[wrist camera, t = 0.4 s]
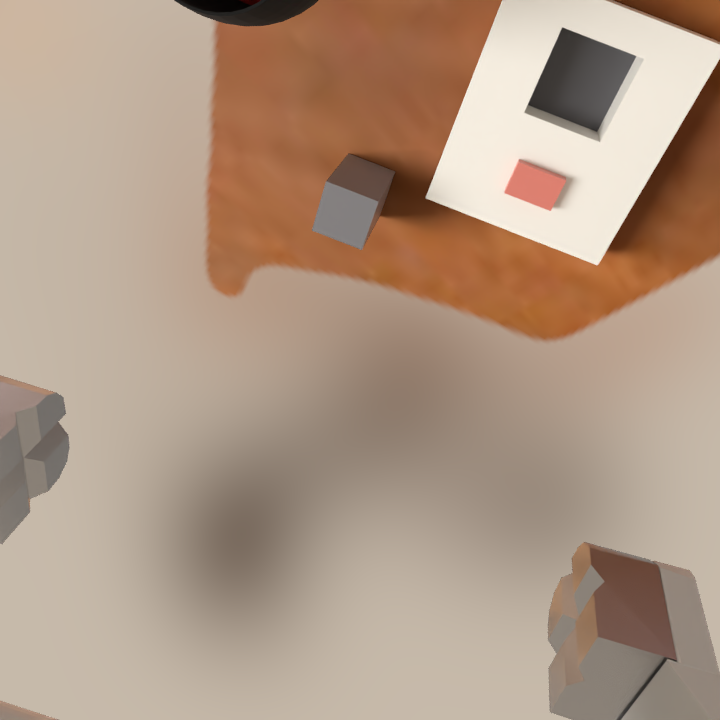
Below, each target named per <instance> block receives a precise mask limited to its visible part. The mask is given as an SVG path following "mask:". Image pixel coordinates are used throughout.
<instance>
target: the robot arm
mask: <svg viewBox="0 0 720 720" xmlns="http://www.w3.org/2000/svg"><path fill="white" fill-rule="evenodd" d="M65 414H66V411H65V404H64V398H63V397H62V396H61V395H59V394H58V393H55V392H53V391H49V390H46V389H43V388H39V387H36V386H33V385H30V384H27V383H24V382H20V381H17V380H14V379H11V378H8V377H4V376H1V375H0V544H3V542H4V541H5V540H6V539H7V538H8V537H9V535H10V534H11V533H12V532H13V531H14V530H15V529H16V528H17V526H18V525H19V524H20V523H21V522H22V521H23V519H24V518H25V517H26V516H27V515H28V514H29V513H30V499H31V498H33V497H36V496H38V495H40V494H42V493H45V492H48V491H49V490H50V488H51V487H52V486H53V485H54V483H55V482H56V481H57V480H58V479H59V477H60V475H61V473H62V471H63V468H64V466H65V464H66V462H67V458H68V452H69V437H68V434H67V433H66V432H65V430H64V429H63V428H62V426H61V425H60V424H59V422H58V421H59V420H60V419H61V418H62V417H63V416H64V415H65ZM548 641H549V642H550V644H551V646H552V647H553V649H554V650H555V652H556V653H557V654H556V656H555V658H554V660H553V661H552V663H551V665H550V666H549V700H550V712H551V713H554V714H557V715H560V716H563V717H566V718H569V719H572V720H720V672H719V668H718V665H717V661H716V657H715V653H714V649H713V646H712V642H711V638H710V634H709V630H708V626H707V623H706V619H705V615H704V611H703V607H702V603H701V599H700V595H699V592H698V588H697V584H696V580H695V577H694V576H693V574H692V573H691V572H690V570H686V569H682V568H679V567H675V566H671V565H668V564H664V563H660V562H657V561H651V560H649V559H645V558H641V557H638V556H634V555H630V554H627V553H623V552H620V551H616V550H612V549H609V548H605V547H601V546H597V545H594V544H590V543H587V542H583V543H582V544H581V545H580V546H579V547H578V548H577V550H576V552H575V553H574V555H573V557H572V573H571V574H569V575H566V576H564V577H562V578H561V579H560V581H559V583H558V586H557V588H556V590H555V592H554V595H553V598H552V602H551V606H550V610H549V619H548ZM0 720H58V719H55V718H52V717H49V716H46V715H42V714H39V713H36V712H33V711H30V710H27V709H24V708H21V707H18V706H15V705H12V704H9V703H6V702H3V701H0Z"/></svg>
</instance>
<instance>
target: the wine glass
mask: <svg viewBox="0 0 720 720" xmlns="http://www.w3.org/2000/svg"><path fill="white" fill-rule="evenodd" d="M175 1H176V2H178V3H179V4H181V5H182V6H184V7H186V8H188V9H190V10H192V11H194V12H196V13H198V14H200V15H202V16H205V17H207V18H210V19H213V20H216V21H219V22H222V23H226V24H233V25H240V26H264V25H270V24H274V23H278V22H283V21H285V20H287V19H289V18H291V17H294V16H296V15H298V14H300V13H302V12H304V11H305V10H307V9H308V8H310V7H311V6H313V5H314V4H315V3H316V2H317V1H318V0H175Z"/></svg>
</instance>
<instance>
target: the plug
mask: <svg viewBox="0 0 720 720" xmlns="http://www.w3.org/2000/svg"><path fill="white" fill-rule="evenodd" d="M394 174H395V171H392V170H390V169H387V168H385V167H382V166H380V165H377V164H375V163H372V162H369V161H367V160H364V159H362V158H359V157H357V156H354V155H351V154H348V155H347V156H346V157H345V159H344V160H343V161H342V162H341V164H340V165H339V166H338V167H337V169H336V170H335V171H334V172H333V173H332V175H331V176H330V177H329V178H328V180H327V181H326V184H325V187H324V191H323V194H322V197H321V201H320V204H319V208H318V211H317V215H316V218H315V222H314V225H313V229H312V231H315V232H317V233H320V234H322V235H325V236H328V237H330V238H333V239H335V240H338V241H340V242H343V243H346V244H348V245H351V246H353V247H356V248H358V249H361V250H362V249H363V247H364V245H365V243H366V241H367V239H368V237H369V236H370V234H371V232H372V230H373V228H374V226H375V224H376V222H377V221H378V219H379V217H380V214H381V211H382V209H383V206H384V203H385V200H386V197H387V194H388V191H389V189H390V186H391V183H392V180H393V177H394Z"/></svg>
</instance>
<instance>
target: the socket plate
mask: <svg viewBox="0 0 720 720" xmlns="http://www.w3.org/2000/svg"><path fill="white" fill-rule="evenodd" d="M719 59H720V42H718V41H717V40H714V39H712V38H709V37H706V36H704V35H701V34H699V33H696V32H694V31H691V30H688V29H686V28H683V27H681V26H678V25H675V24H673V23H670V22H668V21H665V20H662V19H660V18H657V17H655V16H652V15H650V14H647V13H644V12H642V11H639V10H637V9H634V8H631V7H629V6H626V5H624V4H621V3H618V2H616V1H613V0H502V2H501V5H500V7H499V10H498V12H497V15H496V18H495V20H494V23H493V25H492V28H491V30H490V33H489V36H488V38H487V41H486V43H485V46H484V49H483V51H482V54H481V56H480V59H479V61H478V64H477V67H476V69H475V72H474V74H473V77H472V79H471V82H470V85H469V87H468V90H467V92H466V95H465V97H464V100H463V103H462V105H461V108H460V110H459V113H458V115H457V118H456V121H455V123H454V126H453V128H452V131H451V133H450V136H449V139H448V141H447V144H446V146H445V149H444V151H443V154H442V157H441V159H440V162H439V164H438V167H437V169H436V172H435V175H434V177H433V180H432V182H431V185H430V187H429V190H428V193H427V195H426V199H429V200H431V201H434V202H436V203H439V204H441V205H444V206H447V207H449V208H452V209H454V210H457V211H459V212H462V213H465V214H467V215H470V216H472V217H475V218H477V219H480V220H482V221H485V222H488V223H490V224H493V225H495V226H498V227H500V228H503V229H506V230H508V231H511V232H513V233H516V234H518V235H521V236H524V237H526V238H529V239H531V240H534V241H536V242H539V243H542V244H544V245H547V246H549V247H552V248H554V249H557V250H559V251H562V252H565V253H567V254H570V255H572V256H575V257H577V258H580V259H583V260H585V261H588V262H590V263H593V264H595V265H598V264H599V262H600V260H601V259H602V257H603V255H604V254H605V252H606V250H607V249H608V247H609V245H610V244H611V242H612V240H613V238H614V237H615V235H616V233H617V232H618V230H619V228H620V227H621V225H622V223H623V222H624V220H625V218H626V216H627V215H628V213H629V211H630V210H631V208H632V206H633V205H634V203H635V201H636V200H637V198H638V196H639V195H640V193H641V191H642V189H643V188H644V186H645V184H646V183H647V181H648V179H649V178H650V176H651V174H652V173H653V171H654V169H655V167H656V166H657V164H658V162H659V161H660V159H661V157H662V156H663V154H664V152H665V151H666V149H667V147H668V146H669V144H670V142H671V140H672V139H673V137H674V135H675V134H676V132H677V130H678V129H679V127H680V125H681V124H682V122H683V120H684V118H685V117H686V115H687V113H688V112H689V110H690V108H691V107H692V105H693V103H694V102H695V100H696V98H697V97H698V95H699V93H700V91H701V90H702V88H703V86H704V85H705V83H706V81H707V80H708V78H709V76H710V75H711V73H712V71H713V69H714V68H715V66H716V64H717V63H718V61H719Z"/></svg>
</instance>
